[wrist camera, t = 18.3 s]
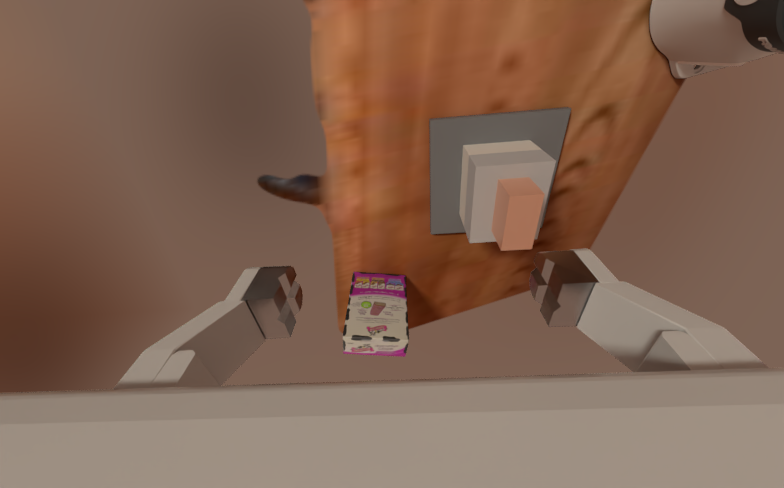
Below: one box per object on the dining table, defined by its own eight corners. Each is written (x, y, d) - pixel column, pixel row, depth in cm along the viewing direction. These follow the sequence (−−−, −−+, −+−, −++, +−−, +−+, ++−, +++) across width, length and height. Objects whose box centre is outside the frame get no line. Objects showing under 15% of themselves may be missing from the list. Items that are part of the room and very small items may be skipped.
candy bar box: (352, 288, 64) (341, 354, 51) (353, 270, 62) (340, 336, 48) (404, 291, 65) (405, 358, 51) (406, 274, 62) (409, 340, 49)
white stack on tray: (567, 107, 43) (607, 124, 35) (539, 224, 54) (564, 258, 46) (429, 118, 44) (436, 138, 36) (430, 231, 56) (436, 265, 47)
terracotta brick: (529, 177, 39) (544, 194, 35) (519, 228, 43) (531, 249, 39) (498, 179, 39) (509, 196, 35) (491, 230, 43) (501, 250, 39)
